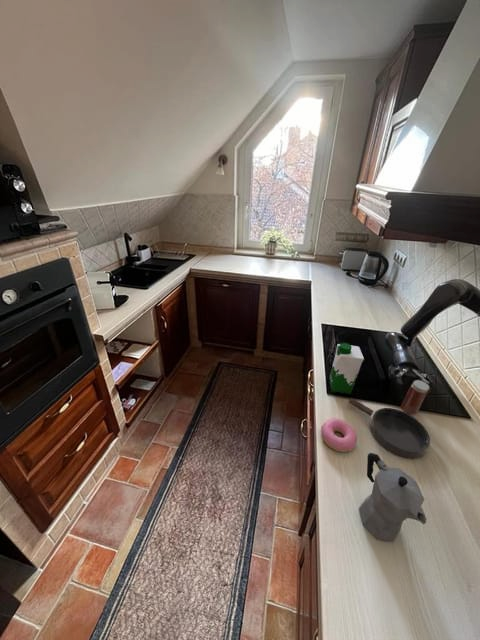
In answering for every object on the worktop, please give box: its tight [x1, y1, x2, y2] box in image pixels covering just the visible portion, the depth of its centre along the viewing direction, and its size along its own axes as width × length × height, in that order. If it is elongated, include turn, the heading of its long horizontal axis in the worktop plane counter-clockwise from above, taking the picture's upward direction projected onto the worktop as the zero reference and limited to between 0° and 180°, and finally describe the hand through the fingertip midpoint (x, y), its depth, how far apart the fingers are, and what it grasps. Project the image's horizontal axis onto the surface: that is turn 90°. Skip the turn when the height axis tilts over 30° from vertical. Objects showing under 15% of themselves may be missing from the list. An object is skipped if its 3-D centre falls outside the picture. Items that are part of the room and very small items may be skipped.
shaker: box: [400, 379, 430, 416], centre depth 89 cm, size 5×5×12 cm
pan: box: [369, 407, 431, 460], centre depth 82 cm, size 16×16×4 cm
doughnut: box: [320, 417, 358, 453], centre depth 80 cm, size 11×11×4 cm
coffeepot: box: [358, 452, 427, 543], centre depth 59 cm, size 15×9×18 cm, turn 16°
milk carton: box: [328, 342, 365, 395], centre depth 96 cm, size 9×9×20 cm
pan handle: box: [347, 397, 374, 417], centre depth 90 cm, size 8×2×1 cm, turn 44°
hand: (414, 389), depth 91 cm, fingers open, 8 cm apart
